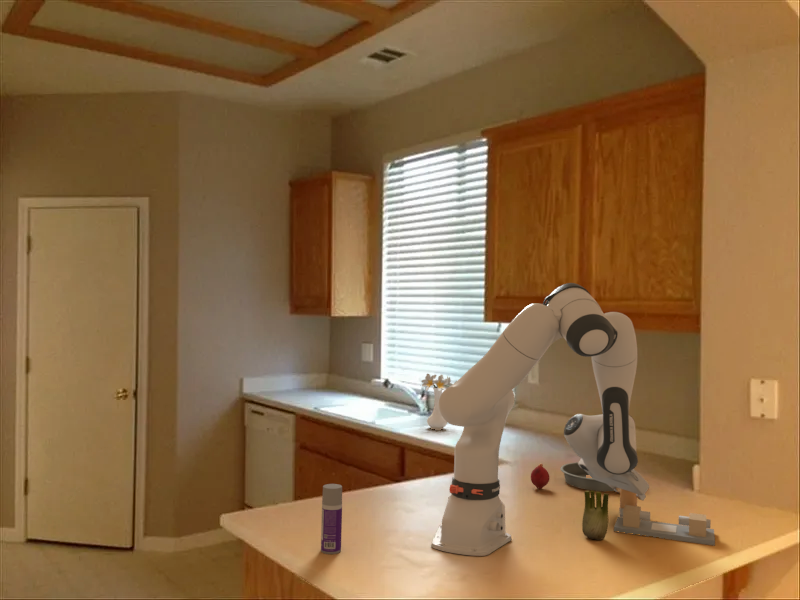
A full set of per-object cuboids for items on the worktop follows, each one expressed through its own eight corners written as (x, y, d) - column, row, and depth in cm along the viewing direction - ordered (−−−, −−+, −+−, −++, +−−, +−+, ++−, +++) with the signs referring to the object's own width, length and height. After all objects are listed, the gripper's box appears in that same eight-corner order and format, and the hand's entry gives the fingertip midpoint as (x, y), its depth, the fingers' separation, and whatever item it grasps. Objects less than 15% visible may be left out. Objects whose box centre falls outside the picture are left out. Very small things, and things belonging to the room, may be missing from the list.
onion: (540, 492, 225) (541, 466, 225) (526, 488, 230) (527, 463, 230) (552, 489, 229) (553, 464, 229) (538, 485, 233) (539, 460, 233)
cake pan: (546, 476, 248) (547, 463, 248) (610, 473, 254) (610, 460, 254) (584, 495, 224) (584, 481, 224) (653, 491, 231) (653, 477, 231)
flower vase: (452, 433, 322) (453, 377, 322) (414, 429, 330) (415, 374, 330) (462, 429, 334) (463, 374, 334) (425, 425, 342) (426, 372, 342)
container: (345, 550, 169) (346, 486, 169) (330, 555, 165) (332, 489, 165) (331, 545, 172) (333, 482, 172) (316, 550, 168) (318, 486, 168)
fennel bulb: (609, 540, 182) (611, 492, 182) (597, 543, 178) (599, 495, 178) (590, 533, 186) (591, 487, 186) (578, 537, 183) (579, 489, 183)
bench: (714, 545, 179) (715, 524, 179) (614, 531, 188) (614, 511, 188) (713, 533, 188) (714, 513, 188) (617, 521, 197) (618, 501, 197)
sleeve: (636, 516, 202) (637, 484, 202) (618, 514, 204) (619, 482, 204) (637, 512, 206) (638, 480, 206) (620, 509, 208) (621, 478, 208)
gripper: (637, 460, 192) (664, 494, 196) (586, 446, 210) (611, 477, 214) (624, 479, 190) (651, 512, 194) (573, 463, 208) (599, 493, 213)
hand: (630, 493), depth 204 cm, fingers open, 8 cm apart
